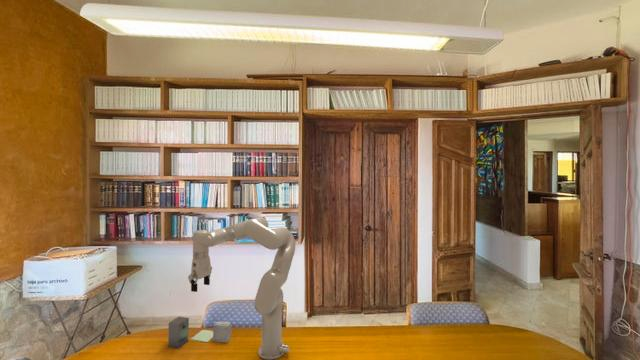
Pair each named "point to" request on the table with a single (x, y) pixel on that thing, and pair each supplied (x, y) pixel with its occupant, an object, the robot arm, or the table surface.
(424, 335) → the table surface
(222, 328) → the medicine box
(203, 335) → the pad
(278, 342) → the robot arm
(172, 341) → the block
